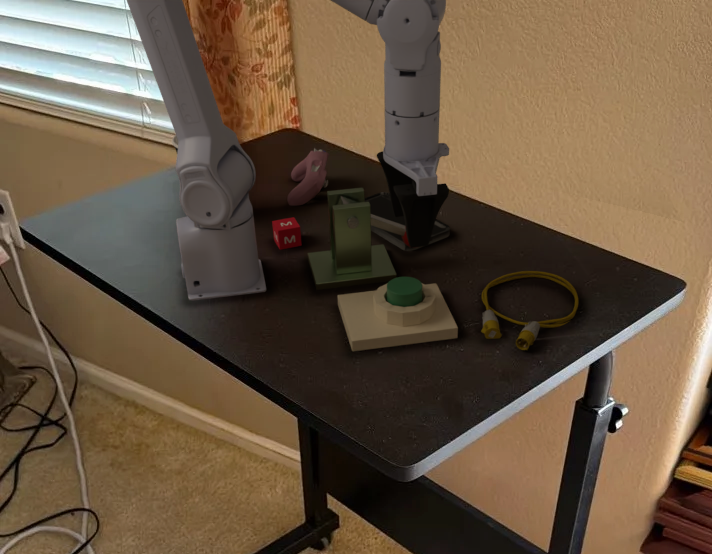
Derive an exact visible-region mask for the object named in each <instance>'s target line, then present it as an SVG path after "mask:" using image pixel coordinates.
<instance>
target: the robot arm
mask: <svg viewBox="0 0 712 554" xmlns="http://www.w3.org/2000/svg"><path fill="white" fill-rule="evenodd" d="M126 2H127V5H128V8H129V11H130V14H131V16H132V19H133V22H134V24H135V27H136V30H137V33H138V35H139V38H140V41H141V44H142V46H143V49H144V51H145V55H146V57H147V60H148V62H149V65H150V68H151V70H152V73H153V76H154V79H155V81H156V82H155V83H156V84H157V87H158V89H159V92H160V96H161V98H162V100H163V103H164V106H165V108H166V111H167V115H168V116H169V120H170V122H171V124H172V128H173V130H174V133H175V135H176V136H177V139H178V152H176V159H175V161H176V162H175V172H176V174H177V178H178V180H179V195H178V197H179V198H178V199H179V204H180V207H181V209H182V211H183V212H184V214H185V215H186V216H183V217H179V218H176V220H175V224H176V232H177V241H178V246H179V252H180V257H181V263H180V267H181V273H182V275H181V276H182V278H183V279H185V285H186V290H187V297H188V300H189V301H201V300H209V299H218V298H224V297H225V298H226V297H235V296H241V295H243V296H244V295H251V294H259V293H265V292H267V286H266V280H265V275H264V269H263V265H262V261H261V259H259V251H258V243H257V234H256V228H255V227H256V226H255V225H256V224H255V217H254V208H253V204H252V202H251V201H250V200H251V199H250V193H249V192H250V191H251V190H252V189H253V187H254V185H255V183H256V178H257V172H256V168H255V164H254V162H253V160H252V158H251V157H250V156H249V155H248V154H247V152H246V151H245V150H244V149H243V147H242V146H241V143H240V142H239V138H238V135H237V133H236V132H235V131H234V130H233V129H231V128H230V127H229V126H227V125H226V124H224V122H223V118H222V116H221V115H222V114H221V113H220V110H219V107H218V104H217V101H216V97H215V94H214V92H213V88H212V85H211V82H210V79H209V77H208V73H207V70H206V67H205V63H204V61H203V59H202V55H201V53H200V49H199V46H198V43H197V41H196V37H195V34H194V32H193V31H194V30H193V28H192V25H191V21H190V19H189V16H188V13H187V9H186V7H185V4H184V1H183V0H126ZM330 2H332V3H334V4H336V5H337V6H339V7H341V8H343V9H344V10H346V11H347V12H350V13H351V14H352V15H354V16H356V17H358V18H360V19H361V20H362V21H364V22H366V23H368V24H369V25H375V26H377V27H376V28H377V31H378V33H379V36H380V37H381V39H382V41H383V42H384V52H385V53H384V55H385V59H384V62H383V85H384V86H383V88H384V89H383V90H384V91H383V93H384V94H383V95H384V146H383V149H382V151H379V152H378V153H376V158H377V160H378V162H379V164H380V166H381V168H382V171H383V173H384V176H385V179H386V184H387V187H388V193H390V199H391V204H392V208H393V212H394V215H395V217H401V216H404V220H405V227H406V234H407V239H408V242H409V245H410V247H411V248H414V247H421V248H423V247H428V246H429V245H430V244H429V242H430V241H431V235H432V231H433V227H434V224H435V220H436V219H437V218H438V215H439V212H440V210H441V208H442V207H443V204H444V203H445V201H446V200H447V199H448V197H449V194H450V188H449V186H448V185H447V183H438V175H437V171H438V168H439V162H440V159H441V158H443V157H448V156H449V155H450V146H448V144H447V143H445V142H440V114H441V113H440V109H441V81H442V80H441V79H442V78H441V77H442V60H441V55H440V54H441V49H442V44H441V32H440V31H439V28H440V25H441V23H442V21H443V19H444V17H445V14H446V8H447V0H330ZM422 246H423V247H422Z"/></svg>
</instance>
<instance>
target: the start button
mask: <svg viewBox="0 0 712 554" xmlns="http://www.w3.org/2000/svg"><path fill="white" fill-rule="evenodd" d="M387 283H388V284H387ZM387 283H386V284H387V301H388V302H389V303H390V304H392V305H394V306H400V307H409V306H415V305H417V304H419V303H420V302H421V301H422V283H423V282H422V281H421V280H420V279H418V278H415V277H412V276H399V277H398V276H397V278H394V279H392V280H390V281H388V282H387Z"/></svg>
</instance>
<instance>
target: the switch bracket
mask: <svg viewBox="0 0 712 554" xmlns="http://www.w3.org/2000/svg"><path fill="white" fill-rule="evenodd" d="M341 196H343V197H345V198H348V199H351V200H354V201H357V202H360V203H353V204H343V205H337V204H338V202H339V199H340V197H341ZM326 198H327V212H328V213H327V215H328V232H329V248H330V249H329V250H321V251H312V252H307V261H308V265H309V268H310V271H311V276H312V279H313V282H314V287H315V289H316V291H320V290H329V289H336V288H344V287H345V288H347V287H354V286H361V285H370V284H378V283H379V284H380V283H388V282H389V281H390V280H392V279H394V278H398V276H397V272H396V270H395V267H394V264H393V263H392V260H391V258H390V255H389V253H388V251H387V249H386V246H385V244H383V243H382V244H374V245H373V244H372V231H371V211H370V203H369V202H364V198H365V190H364V187H354V188H345V189H337V190H327V192H326Z"/></svg>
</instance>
